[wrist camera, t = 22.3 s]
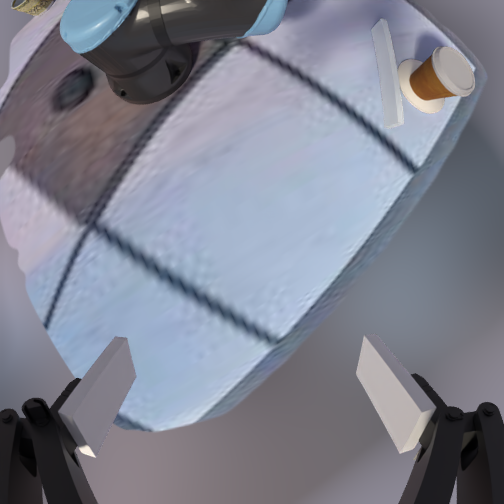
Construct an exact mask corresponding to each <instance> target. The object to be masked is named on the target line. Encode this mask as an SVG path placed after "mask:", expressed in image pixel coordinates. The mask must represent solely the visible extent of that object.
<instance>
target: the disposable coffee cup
mask: <svg viewBox="0 0 504 504" xmlns="http://www.w3.org/2000/svg"><path fill="white" fill-rule="evenodd" d="M409 82H410V86H411V88H412V90H413V92H414V93H415V94H416V95H417V96H418V97H419V98H421V99H422V100H425V101H429V100H434V99H439V98H445V97H451V96H462V97H465V96H468V95H469V94H470V93H471V91H472V90H473V89H474V87H475V78H474V74H473V71H472V69H471V67H470V65H469V63H468V62H467V61H466V59H465V58H464V57H463V56H462V55H461V54H460V53H459V52H458V51H457V50H455V49H453V48H451V47H447V46H446V47H442V46H440V47H437V48H436V49H435V50H434V51H433V54H432V55H431V56H430V57H429V58H428V59H427V60H426V61H425V62H424V63H423V64H422V65H420V66H419V67H418V68H417V69H416V70H415V71H414V72H413V73H412V74H411V75H410V78H409Z"/></svg>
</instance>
